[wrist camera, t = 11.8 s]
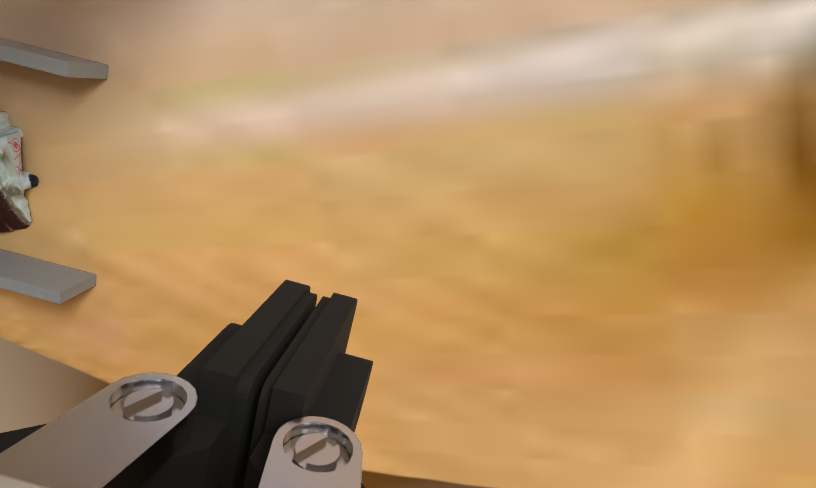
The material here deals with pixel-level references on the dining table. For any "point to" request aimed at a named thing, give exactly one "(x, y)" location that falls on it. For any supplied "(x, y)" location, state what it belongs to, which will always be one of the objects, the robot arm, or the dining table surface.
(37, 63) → the box
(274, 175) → the dining table surface
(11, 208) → the chocolate cake
